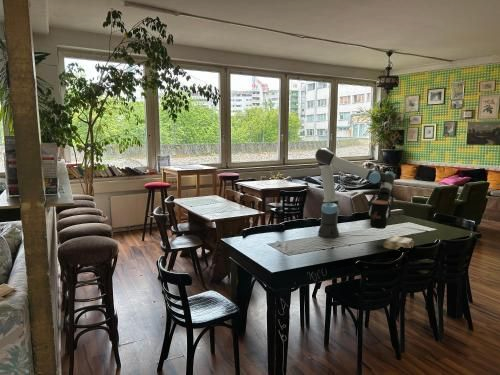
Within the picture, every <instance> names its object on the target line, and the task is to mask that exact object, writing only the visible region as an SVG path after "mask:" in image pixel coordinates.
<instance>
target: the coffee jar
mask: <svg viewBox="0 0 500 375" xmlns="http://www.w3.org/2000/svg"><path fill="white" fill-rule="evenodd" d="M388 202H389V201H388ZM388 202H387V201H382V200H376V199H375V200H373V201H372V203H373V204H372V207H371V215H370V220H369V221H370V222H369V226H370V227H371V228H373V229H377V230H383V229H386V227H387V222H388V218H386V213H387V210H388V208H389V207H388V205H387V204H388Z"/></svg>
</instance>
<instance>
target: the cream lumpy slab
mask: <svg viewBox="0 0 500 375" xmlns="http://www.w3.org/2000/svg"><path fill="white" fill-rule="evenodd" d="M414 243H415V241H414V240H413V238H409V237H404V236H399V235H398V236H396V235H389V236H388V237H387V238H386V239H385V241H384V242H383V248H385V249H390V250H396V251H398V250H397V249H398V248H400V247H403V248H411V247H412V248H414V245H415V244H414Z"/></svg>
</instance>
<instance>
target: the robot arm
mask: <svg viewBox="0 0 500 375" xmlns="http://www.w3.org/2000/svg"><path fill="white" fill-rule="evenodd" d="M314 156H315V159H316V161H317V164H318V167H319V169H320V172H321V181H322V190H323V197H324V199H323V200H322V205H321V208H320V209H321V213H320V214H321V216H320V226H319V229H318V233H317V236H319V237H320V238H328V239H335V238H338V237H339V236H340V232H339V228H338V217H339V216H338V215H339V214H340V211H341V207H340V203H339V198H337V195H336V189H335V187H336V186H335V180H334V179H335V178H334V172H333V171H334V170H333V167H335V168H337V169H340V170H342V171H344V172H346V173H350V174H352V175H354V176H356V177H359V178H361V179H364V180H366V181H368V182H370V183H371V184H377V183H380V184H381V185H380V187H379V192H378V194H375V193H374V194H372V197H371V198H370V200H369V201H368V202H367V207H368V215H369V216H371V207H372V204H373V203H372V201H373V200H382V201H387V202H388V204H387V205H388V210H387V213H386V218H387V219H388V217H389V214H391V212H392V210H393V211H394V210H395V203H394V200H395V197H394V196H391V193H392V189H393V185H394V182H395V178H396V174H395V173H394V172H393V171H388V170H387V171H385V172H382V171H378V170H375V169H371V168H367V167H365V166H362V165H360V164H357V163H355V162H352V161H350V160H347V159H345V158H342V157H340V156H338V155H336V153H334V152H333V150H332V149H331V148H330V147H328V146H323V147H320V148H318V149H317V151H315V154H314ZM389 200H390V201H391V202H389ZM390 203H391V204H390Z"/></svg>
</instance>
